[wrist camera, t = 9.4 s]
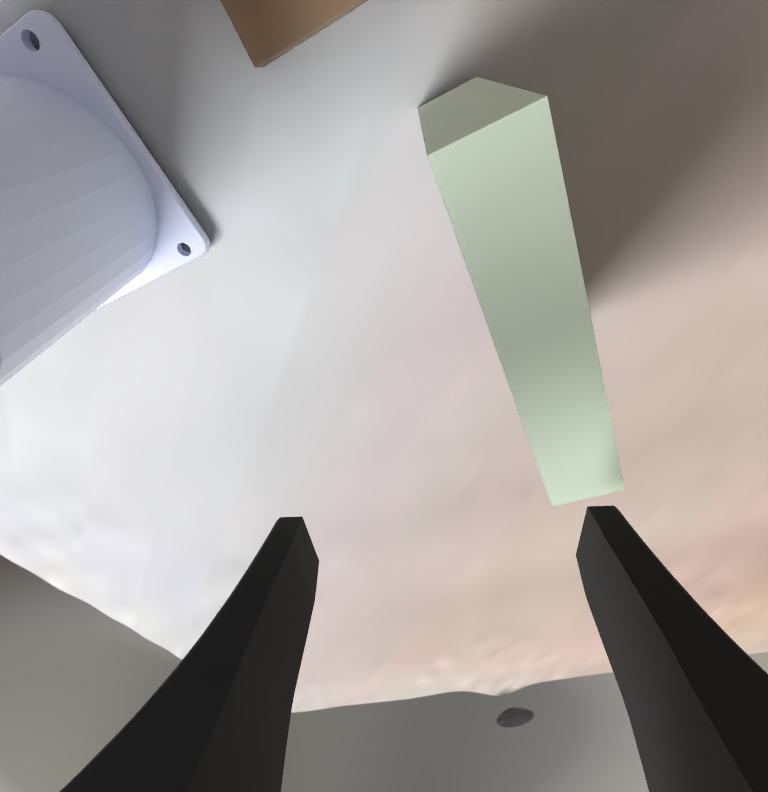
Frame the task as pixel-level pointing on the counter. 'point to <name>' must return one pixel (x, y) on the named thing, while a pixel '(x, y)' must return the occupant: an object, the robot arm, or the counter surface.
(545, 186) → the sage green block
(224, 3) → the rack
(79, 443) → the counter surface
